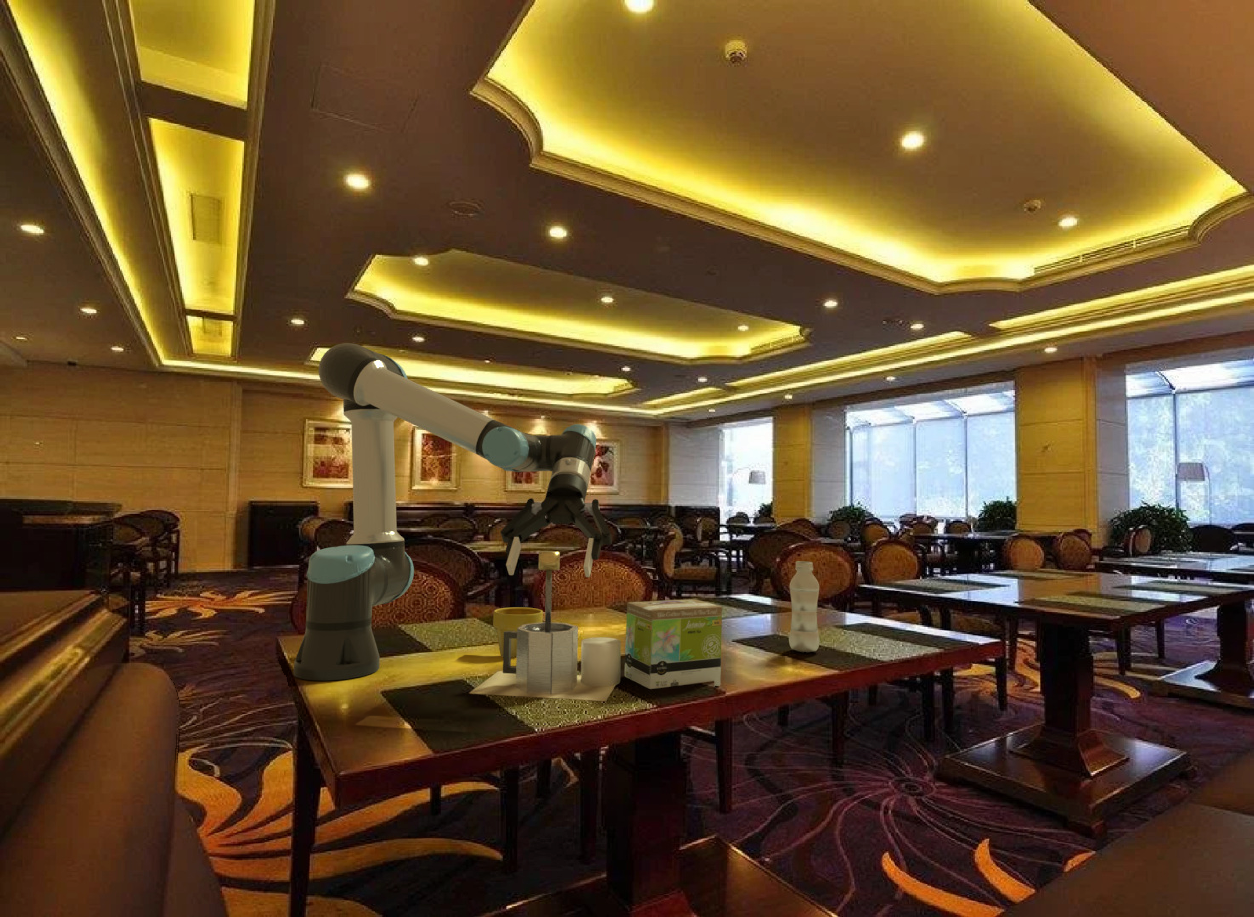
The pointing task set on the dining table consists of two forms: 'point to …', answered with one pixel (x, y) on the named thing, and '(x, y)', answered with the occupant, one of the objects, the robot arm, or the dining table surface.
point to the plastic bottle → (804, 609)
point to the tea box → (673, 643)
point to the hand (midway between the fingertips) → (547, 571)
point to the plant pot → (514, 623)
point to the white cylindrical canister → (600, 661)
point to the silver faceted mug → (543, 658)
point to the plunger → (548, 582)
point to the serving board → (507, 687)
